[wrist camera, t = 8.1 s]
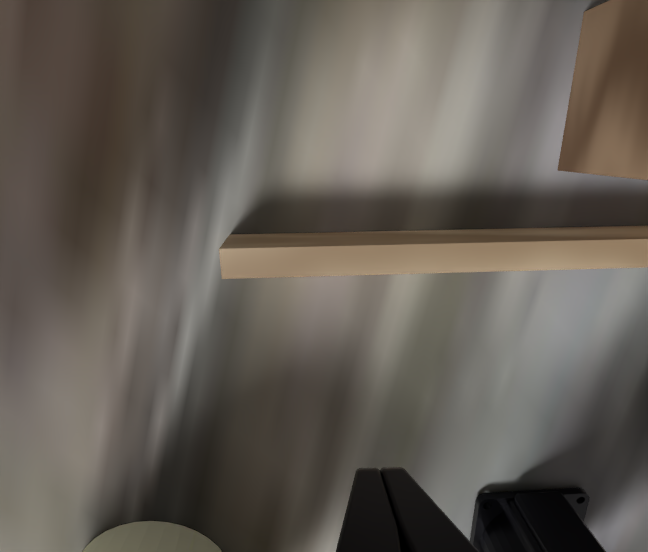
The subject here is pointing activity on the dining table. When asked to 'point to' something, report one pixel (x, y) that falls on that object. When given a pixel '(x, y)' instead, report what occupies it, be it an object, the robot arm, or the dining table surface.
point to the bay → (432, 251)
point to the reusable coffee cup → (151, 539)
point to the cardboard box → (609, 94)
